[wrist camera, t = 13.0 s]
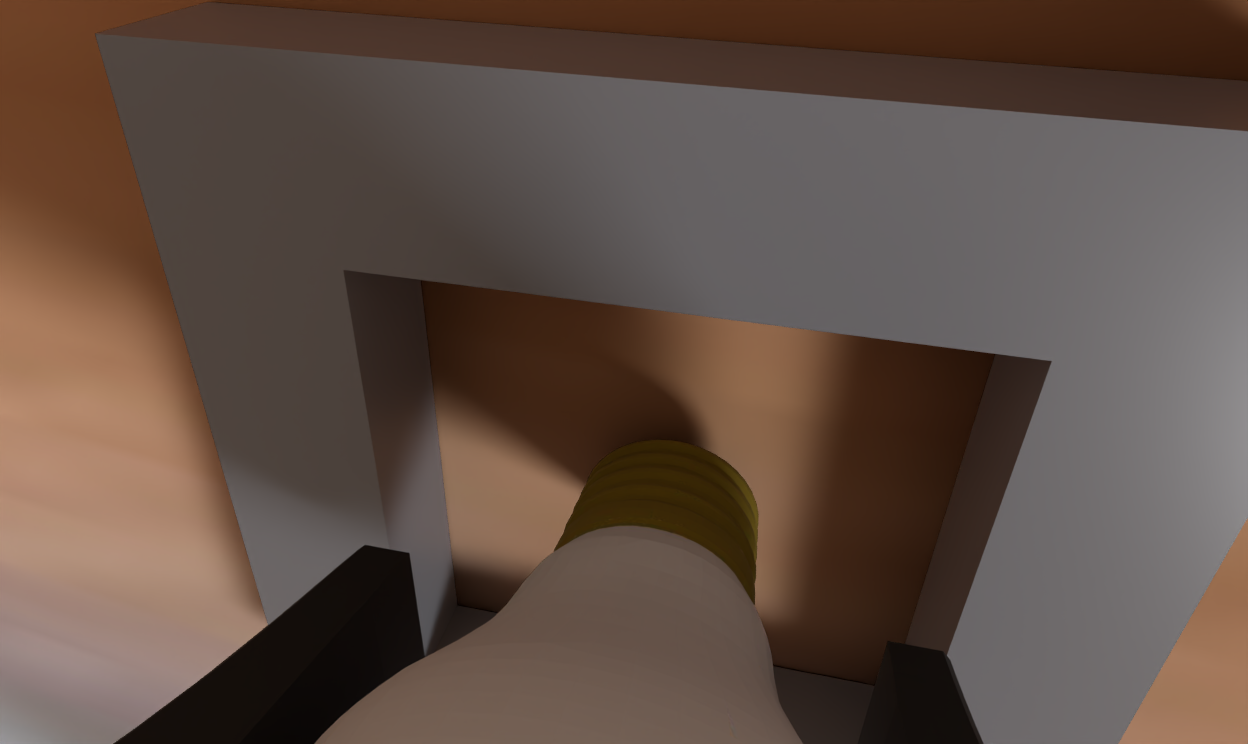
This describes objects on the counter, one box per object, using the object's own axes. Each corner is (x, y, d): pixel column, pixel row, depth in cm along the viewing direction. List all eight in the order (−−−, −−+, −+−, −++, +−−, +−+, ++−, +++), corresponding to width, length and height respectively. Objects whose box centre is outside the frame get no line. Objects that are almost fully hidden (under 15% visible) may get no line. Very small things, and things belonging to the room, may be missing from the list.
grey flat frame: (1002, 801, 16) (1020, 914, 14) (353, 665, 18) (304, 750, 16) (1578, -405, 7) (1814, -478, 5) (120, -394, 9) (-45, -445, 7)
